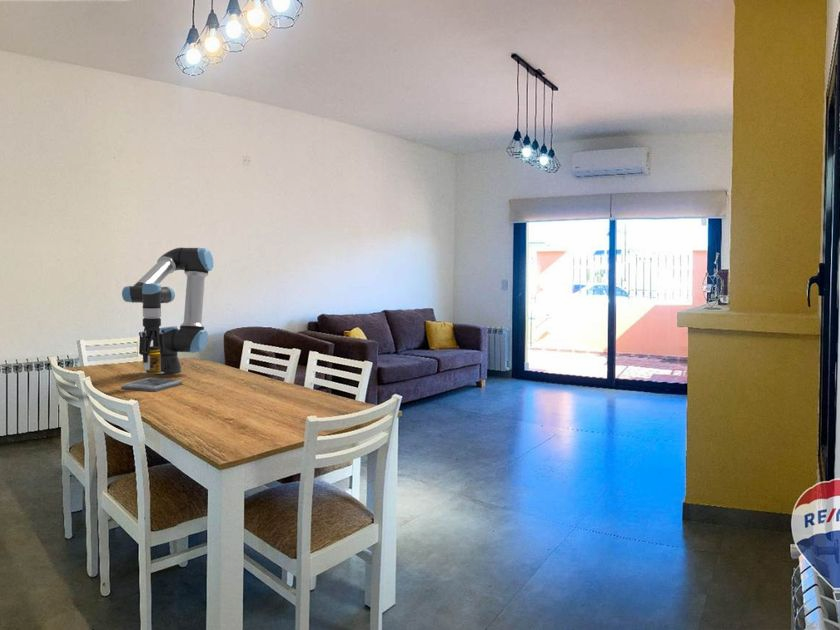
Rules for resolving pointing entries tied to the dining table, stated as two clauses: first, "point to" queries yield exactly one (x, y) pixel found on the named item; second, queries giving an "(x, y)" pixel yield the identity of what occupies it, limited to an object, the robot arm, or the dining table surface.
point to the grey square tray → (152, 384)
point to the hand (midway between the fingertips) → (152, 368)
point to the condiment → (154, 361)
